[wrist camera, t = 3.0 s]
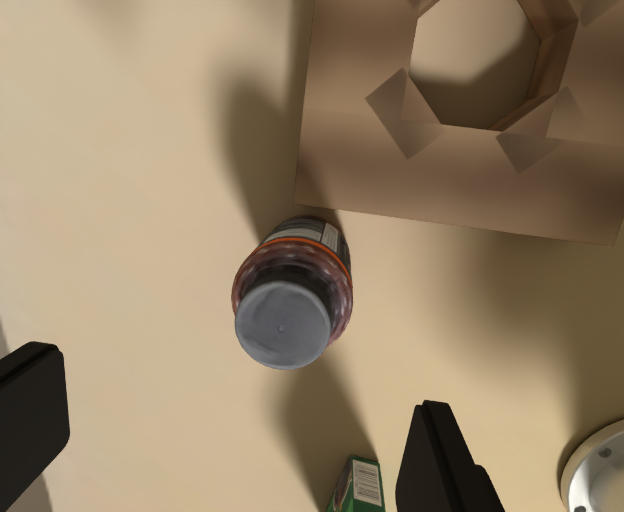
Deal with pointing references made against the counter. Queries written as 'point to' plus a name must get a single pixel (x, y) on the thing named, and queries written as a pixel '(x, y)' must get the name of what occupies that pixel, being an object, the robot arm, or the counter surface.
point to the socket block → (467, 141)
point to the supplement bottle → (293, 293)
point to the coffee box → (358, 488)
